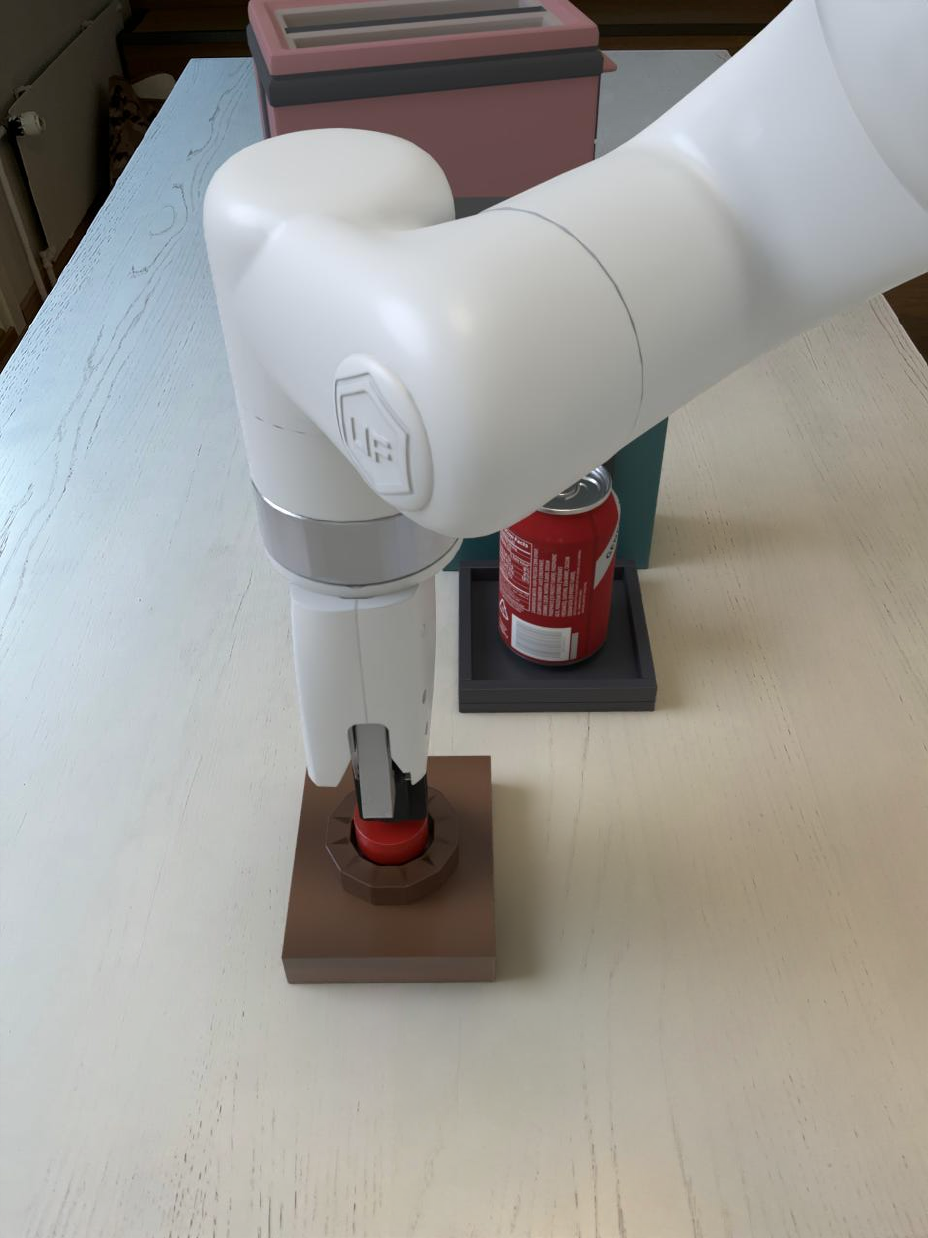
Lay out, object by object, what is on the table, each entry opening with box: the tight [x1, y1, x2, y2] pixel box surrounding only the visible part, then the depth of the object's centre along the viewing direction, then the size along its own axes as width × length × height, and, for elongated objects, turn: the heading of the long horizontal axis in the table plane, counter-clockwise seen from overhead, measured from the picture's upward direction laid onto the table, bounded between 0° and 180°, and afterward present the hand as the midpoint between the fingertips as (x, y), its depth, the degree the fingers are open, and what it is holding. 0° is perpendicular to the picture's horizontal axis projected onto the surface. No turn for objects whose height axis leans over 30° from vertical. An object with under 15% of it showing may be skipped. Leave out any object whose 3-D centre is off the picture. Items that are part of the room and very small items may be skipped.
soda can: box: [499, 465, 621, 666], centre depth 64 cm, size 7×7×12 cm
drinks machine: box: [441, 197, 670, 571], centre depth 68 cm, size 7×14×23 cm, turn 90°
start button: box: [354, 803, 429, 865], centre depth 54 cm, size 4×4×2 cm
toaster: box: [245, 0, 618, 197], centre depth 105 cm, size 19×34×21 cm, turn 104°
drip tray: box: [457, 559, 658, 713], centre depth 68 cm, size 12×12×2 cm
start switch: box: [280, 755, 496, 984], centre depth 55 cm, size 12×10×4 cm
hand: (394, 806), depth 52 cm, fingers closed
